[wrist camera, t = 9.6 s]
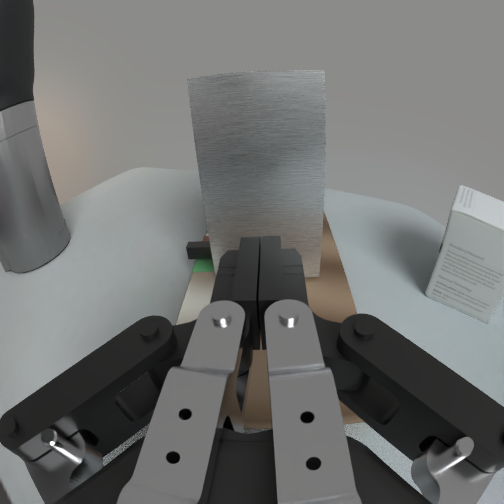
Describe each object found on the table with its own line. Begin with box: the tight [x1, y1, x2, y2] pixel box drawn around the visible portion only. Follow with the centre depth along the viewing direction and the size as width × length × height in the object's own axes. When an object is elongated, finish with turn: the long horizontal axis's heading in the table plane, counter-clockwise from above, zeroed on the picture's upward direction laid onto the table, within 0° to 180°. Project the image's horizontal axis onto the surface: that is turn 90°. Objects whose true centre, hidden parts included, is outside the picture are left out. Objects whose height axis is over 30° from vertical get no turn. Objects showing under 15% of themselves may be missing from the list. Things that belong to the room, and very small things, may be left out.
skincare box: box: [425, 185, 504, 323], centre depth 17 cm, size 6×6×7 cm
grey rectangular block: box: [186, 70, 326, 277], centre depth 18 cm, size 5×9×13 cm, turn 87°
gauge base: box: [176, 212, 364, 429], centre depth 20 cm, size 24×11×7 cm, turn 177°
